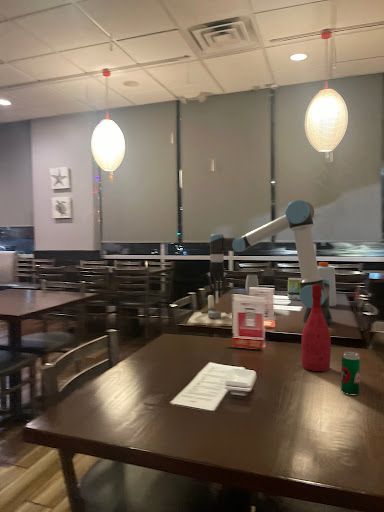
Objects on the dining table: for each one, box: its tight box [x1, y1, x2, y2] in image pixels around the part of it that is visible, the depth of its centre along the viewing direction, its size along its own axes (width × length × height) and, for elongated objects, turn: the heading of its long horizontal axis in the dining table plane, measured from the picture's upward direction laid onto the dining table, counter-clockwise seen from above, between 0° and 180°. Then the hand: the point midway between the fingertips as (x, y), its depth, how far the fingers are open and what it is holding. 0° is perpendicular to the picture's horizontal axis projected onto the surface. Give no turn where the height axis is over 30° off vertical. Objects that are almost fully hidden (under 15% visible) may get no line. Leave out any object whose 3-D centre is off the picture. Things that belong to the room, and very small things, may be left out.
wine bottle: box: [300, 284, 332, 372], centre depth 135 cm, size 10×10×30 cm
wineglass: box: [245, 274, 260, 296], centre depth 239 cm, size 9×9×21 cm
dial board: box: [186, 310, 233, 327], centre depth 209 cm, size 26×26×3 cm
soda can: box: [340, 351, 361, 395], centre depth 115 cm, size 5×5×12 cm
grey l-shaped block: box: [207, 294, 222, 319], centre depth 212 cm, size 14×7×10 cm, turn 10°
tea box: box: [287, 277, 301, 301], centre depth 273 cm, size 15×10×15 cm
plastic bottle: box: [317, 261, 337, 308], centre depth 250 cm, size 15×15×28 cm
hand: (217, 302), depth 217 cm, fingers closed
